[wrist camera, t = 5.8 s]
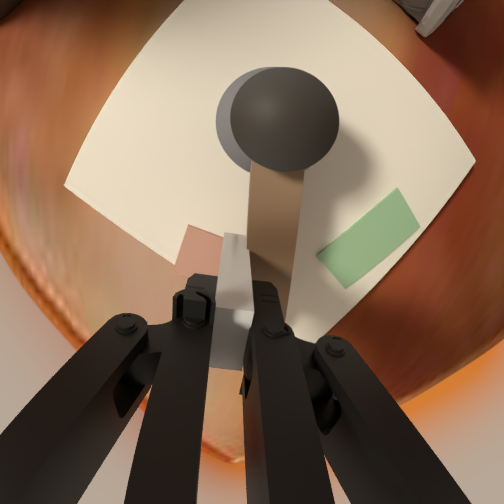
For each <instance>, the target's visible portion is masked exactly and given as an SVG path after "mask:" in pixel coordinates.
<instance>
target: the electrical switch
mask: <svg viewBox="0 0 504 504" xmlns="http://www.w3.org/2000/svg"><path fill="white" fill-rule="evenodd" d="M393 1H395V2H396V3H398V4H399V5H400V6H402V7H403V8H404V9H405V10H406V12H408V13H409V14H410V15H412V16H413V17H414V18H415V19H416V20H417V21H418V22H419V24H418V25H417V26H416V27H415V30H416V31H417V32H418V33H419V34H421V35H422V36H423V37H427V36H428V35H430V34H431V33H433V32H434V31H435V29H436V28H437V27H438V26H439V25H440V24H441V23H442V22H443V21H444V20H446V19H447V18H448V17H449V15H450V14H451V13H452V12H453V11H454V10H455V9H456V8H457V7H458V6H459V5H460V4H461V3H462V2H463V1H464V0H393Z"/></svg>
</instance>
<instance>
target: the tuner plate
mask: <svg viewBox="0 0 504 504" xmlns="http://www.w3.org/2000/svg"><path fill="white" fill-rule="evenodd" d="M275 67H291V68H296V69H300V70H303V71H305V72H308V73H310V74H312V75H313V76H315V77H316V78H318V79H319V80H320V81H321V82H322V83H323V84H324V85H325V86H326V87H327V88H328V89H329V91H330V92H331V94H332V95H333V97H334V99H335V102H336V104H337V107H338V111H339V130H338V134H337V138H336V140H335V142H334V144H333V146H332V148H331V149H330V151H329V152H328V153H327V154H326V155H325V156H324V157H323V158H322V159H321V160H320V161H318V162H317V163H315V164H314V165H312V166H310V167H307V168H305V170H304V180H303V190H302V199H301V208H300V217H299V225H298V233H297V241H296V249H295V257H294V264H293V271H292V279H291V286H290V293H289V299H288V306H287V312H286V319H285V323H287V324H288V325H289V326H290V327H291V328H292V330H293V332H294V335H295V337H297V338H299V339H302V340H304V341H308V342H312V343H316V342H317V340H318V339H319V338H320V337H322V336H323V335H324V334H325V333H327V332H328V331H329V330H330V329H331V328H332V327H333V326H334V325H335V324H336V323H337V322H338V321H339V320H341V319H342V318H343V317H344V316H345V315H346V314H347V313H348V312H349V311H350V310H351V309H352V308H353V307H354V306H355V305H356V304H357V303H358V302H359V301H360V300H361V299H362V298H363V297H364V296H365V295H366V294H367V293H368V292H369V291H370V290H371V289H372V288H373V287H374V286H375V285H376V284H377V283H378V282H379V281H380V279H381V278H382V277H383V276H384V275H385V274H386V273H387V272H388V271H389V270H390V269H391V268H392V267H393V265H394V264H395V263H396V262H397V261H398V260H399V259H400V258H401V257H402V255H403V254H404V253H405V252H406V251H407V250H408V249H409V247H410V246H411V245H412V244H413V243H414V242H415V241H416V239H417V238H418V237H419V236H420V235H421V233H422V232H423V231H424V230H425V229H426V227H427V226H428V225H429V224H430V222H431V221H432V220H433V219H434V217H435V216H436V215H437V214H438V212H439V211H440V210H441V209H442V207H443V206H444V205H445V203H446V202H447V201H448V199H449V198H450V197H451V195H452V194H453V193H454V191H455V190H456V189H457V187H458V186H459V184H460V183H461V182H462V180H463V179H464V177H465V176H466V175H467V173H468V172H469V170H470V169H471V167H472V166H473V164H474V163H475V161H476V160H475V158H474V157H473V155H472V154H471V152H470V150H469V149H468V147H467V146H466V144H465V143H464V141H463V140H462V138H461V137H460V135H459V134H458V132H457V131H456V129H455V128H454V126H453V125H452V124H451V122H450V121H449V120H448V118H447V117H446V115H445V114H444V113H443V111H442V110H441V109H440V108H439V106H438V105H437V104H436V103H435V101H434V100H433V99H432V98H431V96H430V95H429V94H428V93H427V91H426V90H425V89H424V88H423V87H422V86H421V84H420V83H419V82H418V81H417V80H416V79H415V78H414V77H413V75H412V74H411V73H410V72H409V71H408V70H407V69H406V68H405V67H404V66H403V65H402V64H401V63H400V62H399V61H398V60H397V59H396V58H395V57H394V56H393V55H392V54H391V53H390V52H389V51H388V50H387V49H386V48H385V47H384V46H383V45H382V44H381V43H380V42H379V41H378V40H377V39H375V38H374V37H373V36H372V35H371V34H370V33H369V32H367V31H366V30H365V29H364V28H363V27H362V26H360V25H359V24H358V23H357V22H356V21H354V20H353V19H352V18H351V17H349V16H348V15H347V14H346V13H344V12H343V11H342V10H340V9H339V8H338V7H336V6H335V5H334V4H332V3H331V2H329V1H328V0H184V1H183V2H182V3H181V4H180V5H179V6H178V7H177V8H176V9H175V10H174V11H173V13H172V14H171V15H170V16H169V17H168V18H167V19H166V20H165V22H164V23H163V24H162V25H161V26H160V27H159V29H158V30H157V31H156V32H155V33H154V35H153V36H152V37H151V38H150V40H149V41H148V42H147V43H146V45H145V46H144V47H143V49H142V50H141V51H140V53H139V54H138V55H137V57H136V58H135V59H134V61H133V62H132V63H131V65H130V66H129V68H128V69H127V71H126V72H125V73H124V75H123V76H122V78H121V79H120V81H119V82H118V84H117V85H116V87H115V89H114V90H113V92H112V93H111V95H110V97H109V98H108V100H107V101H106V103H105V105H104V106H103V108H102V110H101V112H100V113H99V115H98V117H97V119H96V120H95V122H94V124H93V126H92V128H91V130H90V131H89V133H88V135H87V137H86V139H85V141H84V143H83V145H82V147H81V149H80V151H79V153H78V155H77V157H76V159H75V162H74V164H73V166H72V168H71V170H70V173H69V175H68V177H67V180H66V182H65V184H64V186H65V187H66V188H68V189H69V190H70V191H72V192H73V193H74V194H75V195H77V196H78V197H79V198H81V199H82V200H83V201H85V202H86V203H87V204H89V205H90V206H91V207H93V208H94V209H96V210H97V211H98V212H100V213H101V214H102V215H104V216H105V217H106V218H108V219H109V220H111V221H112V222H113V223H115V224H116V225H118V226H119V227H120V228H122V229H123V230H125V231H126V232H127V233H129V234H130V235H132V236H133V237H135V238H136V239H137V240H139V241H140V242H142V243H143V244H145V245H146V246H148V247H149V248H151V249H152V250H153V251H155V252H156V253H158V254H159V255H161V256H162V257H164V258H165V259H167V260H168V261H170V262H171V263H173V264H174V265H175V266H174V269H173V273H175V274H178V275H181V276H184V277H186V278H189V277H191V276H192V275H193V274H194V273H198V274H205V275H213V276H218V273H219V266H220V258H221V251H222V244H223V237H224V232H227V233H234V234H241V235H246V233H247V216H248V199H249V182H250V166H251V159H250V158H249V157H248V156H247V155H246V154H245V153H244V152H243V151H242V150H241V149H240V147H239V146H238V144H237V142H236V140H235V138H234V136H233V133H232V129H231V123H230V112H231V106H232V103H233V100H234V97H235V95H236V93H237V92H238V90H239V89H240V87H241V86H242V85H243V84H244V83H245V82H246V81H247V80H248V79H249V78H251V77H252V76H253V75H255V74H257V73H259V72H261V71H264V70H266V69H270V68H275Z"/></svg>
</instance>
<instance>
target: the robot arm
mask: <svg viewBox="0 0 504 504" xmlns="http://www.w3.org/2000/svg"><path fill="white" fill-rule="evenodd" d="M21 1H22V0H0V19H1V18H2V17H4V16H5V15H6V14H7V13H9V12H10V11H11V10H12V9H13V8H14V7H15V6H17V5H18V4H19V3H20V2H21ZM209 367H213V368H221V369H230V370H240V371H242V367H243V369H244V375H243V379H242V384H241V388H240V393H239V394H241V395H242V396H243V422H244V447H245V469H246V490H247V504H335V502H334V497H333V493H332V488H331V483H330V479H329V474H328V470H327V466H326V461H325V457H326V459H327V461H328V463H329V464H330V466H331V468H332V470H333V472H334V473H335V476H336V477H337V479H338V481H339V483H340V485H341V486H342V488H343V490H344V492H345V494H346V496H347V497H348V499H349V501H350V503H351V504H471V503H470V501H469V500H468V498H467V497H466V495H465V494H464V493H463V491H462V490H461V488H460V487H459V486H458V484H457V483H456V482H455V480H454V479H453V477H452V476H451V475H450V473H449V472H448V471H447V469H446V468H445V466H444V465H443V464H442V462H441V461H440V460H439V458H438V457H437V456H436V454H435V453H434V452H433V450H432V449H431V448H430V446H429V445H428V444H427V442H426V441H425V440H424V438H423V437H422V436H421V434H420V433H419V432H418V430H417V429H416V428H415V426H414V425H413V424H412V422H411V421H410V420H409V418H408V417H407V416H406V414H405V413H404V412H403V411H402V409H401V408H400V407H399V405H398V404H397V403H396V401H395V400H394V399H393V397H392V396H391V395H390V394H389V392H388V391H387V390H386V388H385V387H384V386H383V385H382V383H381V382H380V381H379V379H378V378H377V377H376V376H375V374H374V373H373V372H372V370H371V369H370V368H369V367H368V365H367V364H366V363H365V362H364V360H363V359H362V358H361V356H360V355H359V354H358V353H357V351H356V350H355V349H354V348H353V346H352V345H351V344H350V343H349V342H348V341H346V340H344V339H343V338H341V337H337V336H334V335H326V336H323V337H320V338H319V339H318V340H317V342H316V344H315V343H312V342H308V341H304V340H302V339H299V338H297V337H295V335H294V332H293V330H292V328H291V327H290V326H289V325H288V324H287V323H285V322H284V318H283V313H282V309H281V304H280V300H279V295H278V291H277V288H276V287H275V286H274V285H273V284H272V283H271V282H266V281H258V280H252V279H251V267H250V255H249V250H248V249H247V235H241V234H234V233H227V232H224V237H223V244H222V251H221V258H220V266H219V273H218V276H213V275H205V274H198V273H194V274H193V275H192V276H191V277H189V278H188V281H187V284H186V287H185V289H184V290H181V291H179V292H177V293H176V294H175V295H174V296H173V313H172V320H171V321H170V322H167V323H164V324H159V325H147V322H146V321H145V319H144V318H142V317H141V316H139V315H136V314H132V313H122V314H119V315H115V316H114V317H112V318H111V319H109V320H108V321H107V322H106V323H105V324H104V325H103V326H102V327H101V328H100V329H99V330H98V331H97V332H96V333H95V334H94V335H93V336H92V337H91V338H90V339H89V340H88V341H87V342H86V343H85V344H84V345H83V346H82V347H81V348H80V349H79V350H78V351H77V352H76V353H75V354H74V355H73V356H72V357H71V358H70V359H69V360H68V361H67V362H66V363H65V365H63V366H62V368H60V370H59V371H58V372H57V373H56V374H55V375H54V376H53V377H52V378H51V379H50V380H49V381H48V382H47V383H46V384H45V385H44V387H42V389H41V390H40V391H39V392H38V393H37V394H36V395H35V396H34V397H33V398H32V399H31V401H30V402H29V403H28V404H27V405H26V406H25V407H24V408H23V409H22V410H21V412H20V413H19V414H18V415H17V416H16V417H15V418H14V420H13V421H12V422H11V423H10V424H9V425H8V426H7V428H6V429H5V430H4V431H3V432H2V434H1V435H0V504H77V503H78V501H79V500H80V498H81V497H82V495H83V493H84V492H85V490H86V489H87V487H88V485H89V484H90V482H91V481H92V479H93V477H94V476H95V474H96V472H97V471H98V469H99V468H100V466H101V465H102V463H103V461H104V460H105V458H106V457H107V455H108V454H109V452H110V450H111V449H112V447H113V446H114V444H115V442H116V441H117V439H118V438H119V436H120V435H121V433H122V431H123V430H124V428H125V427H126V425H127V424H128V422H129V420H130V419H131V417H132V416H133V414H134V413H135V411H136V410H137V408H138V407H139V405H140V403H141V402H142V400H143V399H144V397H145V396H146V394H147V393H148V391H149V390H150V388H151V385H152V384H153V385H152V388H151V392H150V395H149V399H148V403H147V406H146V410H145V414H144V418H143V422H142V426H141V429H140V433H139V437H138V442H137V446H136V450H135V454H134V459H133V463H132V467H131V472H130V476H129V481H128V486H127V490H126V496H125V500H124V504H197V492H198V478H199V465H200V453H201V442H202V431H203V420H204V410H205V400H206V391H207V381H208V372H209ZM324 455H325V457H324Z"/></svg>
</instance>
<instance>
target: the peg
mask: <svg viewBox="0 0 504 504" xmlns="http://www.w3.org/2000/svg"><path fill="white" fill-rule="evenodd" d="M230 123H231V129H232V133H233V136H234V138H235V140H236V142H237V144H238V146H239V147H240V149H241V150H242V151H243V152H244V153H245V154H246V155H247V156H248V157H249V158H250V159H251V166H250V182H249V199H248V216H247V233H246V235H247V249H248V250H249V255H250V267H251V279H252V280H258V281H266V282H271V283H272V284H273V285H274V286H275V287H276V288H277V291H278V295H279V300H280V304H281V309H282V313H283V318H284V322H285V319H286V312H287V306H288V299H289V293H290V286H291V279H292V271H293V264H294V257H295V249H296V241H297V233H298V225H299V217H300V208H301V199H302V190H303V180H304V170H305V168H307V167H310V166H312V165H314V164H315V163H317V162H318V161H320V160H321V159H322V158H323V157H324V156H325V155H326V154H327V153H328V152H329V151H330V149H331V148H332V146H333V144H334V142H335V140H336V138H337V134H338V130H339V111H338V107H337V104H336V102H335V99H334V97H333V95H332V94H331V92H330V91H329V89H328V88H327V87H326V86H325V85H324V84H323V83H322V82H321V81H320V80H319V79H318V78H316V77H315V76H313V75H312V74H310V73H308V72H305V71H303V70H300V69H296V68H291V67H275V68H270V69H266V70H264V71H261V72H259V73H257V74H255V75H253V76H252V77H251V78H249V79H248V80H247V81H246V82H245V83H244V84H243V85H242V86H241V87H240V89H239V90H238V92H237V93H236V95H235V97H234V100H233V103H232V106H231V112H230Z"/></svg>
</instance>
